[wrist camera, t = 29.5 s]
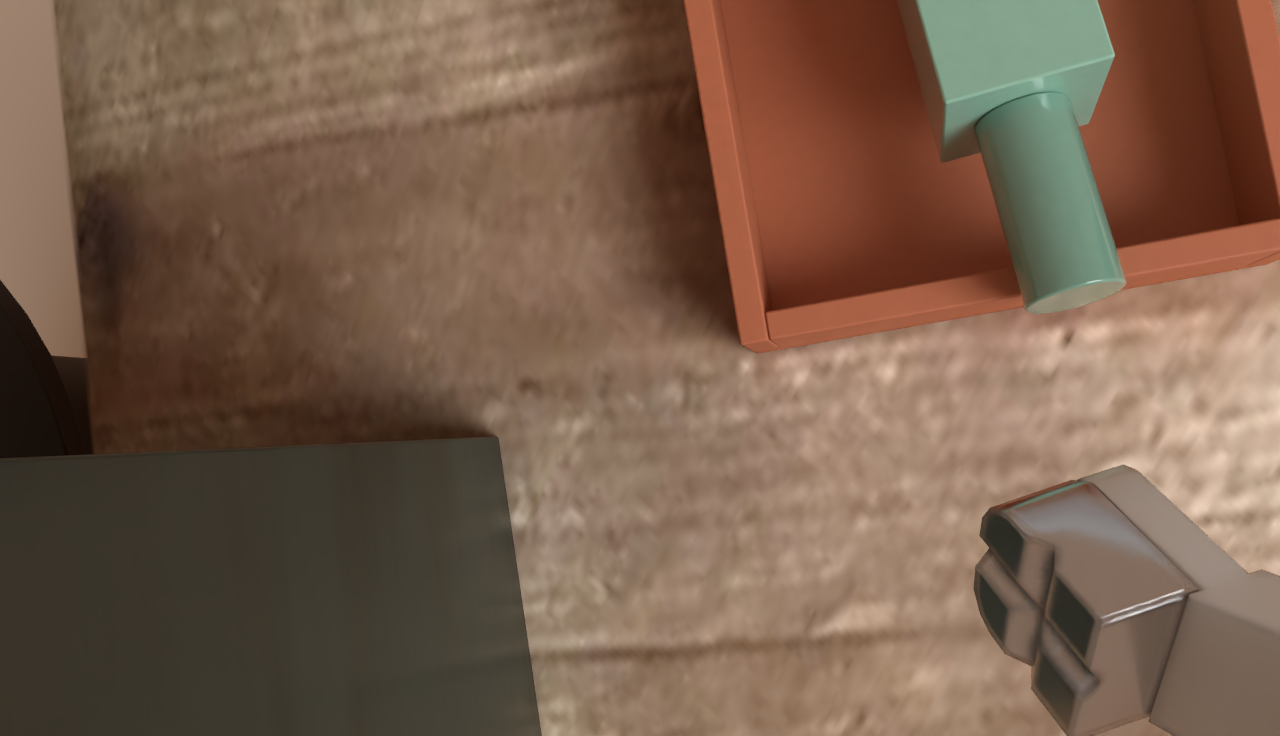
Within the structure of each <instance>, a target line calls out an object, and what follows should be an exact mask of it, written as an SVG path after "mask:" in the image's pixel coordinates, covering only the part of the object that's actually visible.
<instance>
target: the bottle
mask: <svg viewBox="0 0 1280 736" xmlns="http://www.w3.org/2000/svg"><path fill="white" fill-rule="evenodd" d="M896 1H897V4H898V8H899V12H900V15H901V19H902V23H903V26H904V30H905V34H906V37H907V41H908V45H909V48H910V52H911V56H912V59H913V63H914V67H915V70H916V74H917V78H918V81H919V85H920V89H921V92H922V96H923V100H924V103H925V107H926V111H927V114H928V118H929V122H930V125H931V129H932V133H933V136H934V140H935V144H936V147H937V151H938V155H939V158H940V161H941V162H948V161H952V160H955V159H959V158H963V157H966V156H970V155H974V154H978V153H980V154H981V157H982V161H983V164H984V168H985V171H986V175H987V178H988V182H989V186H990V189H991V193H992V196H993V200H994V203H995V207H996V210H997V214H998V217H999V221H1000V224H1001V228H1002V231H1003V235H1004V238H1005V242H1006V246H1007V249H1008V253H1009V256H1010V260H1011V263H1012V267H1013V270H1014V274H1015V277H1016V281H1017V284H1018V288H1019V291H1020V295H1021V298H1022V302H1023V306H1024V309H1025V310H1026V311H1027V312H1028V313H1034V314H1043V313H1052V312H1058V311H1063V310H1068V309H1072V308H1076V307H1080V306H1083V305H1087V304H1090V303H1093V302H1096V301H1098V300H1101V299H1104V298H1106V297H1108V296H1110V295H1113V294H1114V293H1116V292H1118V291H1119V290H1121V289H1122V288H1124V287H1125V286H1126V282H1127V280H1126V277H1125V274H1124V270H1123V267H1122V264H1121V261H1120V257H1119V254H1118V251H1117V248H1116V244H1115V241H1114V238H1113V235H1112V232H1111V228H1110V225H1109V222H1108V219H1107V215H1106V212H1105V209H1104V206H1103V202H1102V199H1101V196H1100V193H1099V189H1098V186H1097V183H1096V180H1095V177H1094V173H1093V170H1092V167H1091V164H1090V160H1089V157H1088V154H1087V151H1086V147H1085V144H1084V141H1083V138H1082V134H1081V131H1080V128H1079V126H1082V125H1086V124H1088V123H1090V120H1091V118H1092V115H1093V112H1094V110H1095V107H1096V104H1097V102H1098V99H1099V97H1100V94H1101V91H1102V89H1103V86H1104V83H1105V81H1106V78H1107V75H1108V73H1109V70H1110V68H1111V65H1112V62H1113V60H1114V57H1115V52H1114V49H1113V46H1112V43H1111V40H1110V37H1109V34H1108V31H1107V28H1106V25H1105V21H1104V18H1103V15H1102V12H1101V9H1100V6H1099V3H1098V0H896Z"/></svg>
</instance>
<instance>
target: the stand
mask: <svg viewBox="0 0 1280 736" xmlns="http://www.w3.org/2000/svg"><path fill="white" fill-rule="evenodd" d="M0 736H542V735H541V728H540V721H539V715H538V708H537V701H536V694H535V687H534V680H533V673H532V666H531V660H530V653H529V646H528V639H527V632H526V625H525V618H524V611H523V605H522V598H521V591H520V584H519V577H518V570H517V563H516V556H515V550H514V543H513V536H512V529H511V522H510V515H509V508H508V502H507V495H506V488H505V481H504V474H503V467H502V460H501V453H500V447H499V440H498V437H474V438H451V439H428V440H406V441H383V442H361V443H338V444H316V445H293V446H270V447H248V448H225V449H203V450H180V451H158V452H135V453H112V454H90V455H67V456H45V457H22V458H0Z"/></svg>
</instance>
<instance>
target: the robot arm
mask: <svg viewBox="0 0 1280 736" xmlns="http://www.w3.org/2000/svg"><path fill="white" fill-rule="evenodd" d="M980 537H981V538H982V539H983V540H984V542H985V543H986V544H987V545H988V547H989V549H988V551H987V552H986V553H985V555H984V556H983V557H982V559H981V560H980V561H979V562H978V564H977V565H976V566H975V579H974V592H975V596H976V600H977V604H978V607H979V611H980V615H981V617H982V619H983V621H984V622H985V624H986V626H987V628H988V630H989V632H990V634H991V635H992V637H993V638H994V640H995V641H996V642H997V644H998V645H999V646H1000V648H1001V649H1002V651H1003V652H1004V653H1005V654H1007V655H1009V656H1011V657H1013V658H1015V659H1017V660H1019V661H1021V662H1024V663H1026V664H1028V665H1030V666H1032V668H1031V689H1032V691H1033V692H1034V693H1035V695H1036V696H1037V697H1038V699H1039V700H1040V701H1041V702H1042V704H1043V705H1044V706H1045V708H1046V709H1047V710H1048V712H1049V713H1050V714H1051V716H1052V717H1053V718H1054V720H1055V721H1056V722H1057V724H1058V725H1059V726H1060V727H1061V729H1062V730H1063V731H1064V733H1065V734H1066V735H1067V736H1093V735H1096V734H1099V733H1102V732H1105V731H1108V730H1111V729H1114V728H1117V727H1120V726H1123V725H1126V724H1128V723H1131V722H1134V721H1137V720H1140V719H1143V718H1146V717H1149V716H1150V719H1149V722H1151V723H1153V724H1154V725H1156V726H1158V727H1159V728H1161V729H1163V730H1165V731H1166V732H1168V733H1170V734H1171V735H1173V736H1280V576H1278V575H1275V574H1273V573H1270V572H1267V571H1265V570H1259V571H1255V572H1252V573H1248V572H1247V571H1246V570H1244V569H1243V568H1242V567H1241V566H1240V565H1239V564H1238V563H1237V562H1236V561H1235V560H1234V559H1233V558H1232V557H1230V556H1229V555H1228V554H1227V553H1226V552H1225V551H1224V550H1223V549H1222V548H1221V547H1220V546H1219V545H1217V544H1216V543H1215V542H1214V541H1213V540H1212V539H1211V538H1210V537H1209V536H1208V535H1207V534H1206V533H1205V532H1203V531H1202V530H1201V529H1200V528H1199V527H1198V526H1197V525H1196V524H1195V523H1194V522H1193V521H1192V520H1190V519H1189V518H1188V517H1187V516H1186V515H1185V514H1184V513H1183V512H1182V511H1181V510H1180V509H1179V508H1178V507H1176V506H1175V505H1174V504H1173V503H1172V502H1171V501H1170V500H1169V499H1168V498H1167V497H1166V496H1165V495H1163V494H1162V493H1161V492H1160V491H1159V490H1158V489H1157V488H1156V487H1155V486H1154V485H1153V484H1152V483H1151V482H1149V481H1148V480H1147V479H1146V478H1145V477H1144V476H1143V475H1142V474H1141V473H1140V472H1138V471H1137V470H1136V469H1133V468H1131V467H1128V466H1126V465H1121V466H1117V467H1114V468H1111V469H1108V470H1105V471H1102V472H1099V473H1096V474H1093V475H1090V476H1087V477H1084V478H1080V479H1078V480H1076V481H1075V480H1070V481H1067V482H1065V483H1062V484H1059V485H1056V486H1053V487H1050V488H1047V489H1044V490H1041V491H1038V492H1035V493H1032V494H1029V495H1026V496H1023V497H1020V498H1017V499H1015V500H1012V501H1009V502H1006V503H1003V504H1000V505H997V506H994V507H991V508H989V510H988V511H987V512H986V514H985V515H984V516H983V517H982V523H981V530H980Z"/></svg>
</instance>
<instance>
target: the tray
mask: <svg viewBox="0 0 1280 736" xmlns="http://www.w3.org/2000/svg"><path fill="white" fill-rule="evenodd" d="M683 2H684V8H685V14H686V20H687V26H688V32H689V38H690V44H691V50H692V56H693V62H694V68H695V74H696V80H697V86H698V92H699V98H700V104H701V110H702V116H703V122H704V128H705V134H706V141H707V147H708V153H709V159H710V165H711V171H712V177H713V183H714V189H715V195H716V201H717V207H718V213H719V219H720V225H721V231H722V237H723V243H724V249H725V255H726V261H727V267H728V273H729V279H730V285H731V291H732V297H733V303H734V309H735V315H736V321H737V327H738V333H739V339H740V344H741V345H743V346H744V347H746V348H748V349H750V350H752V351H754V352H756V353H763V352H768V351H774V350H780V349H786V348H791V347H797V346H803V345H808V344H814V343H820V342H826V341H831V340H837V339H843V338H849V337H854V336H860V335H866V334H871V333H877V332H883V331H889V330H894V329H900V328H906V327H911V326H917V325H923V324H929V323H934V322H940V321H946V320H952V319H957V318H963V317H969V316H974V315H980V314H986V313H992V312H997V311H1003V310H1009V309H1014V308H1020V307H1024V306H1023V302H1022V298H1021V295H1020V291H1019V288H1018V284H1017V281H1016V277H1015V274H1014V270H1013V267H1012V263H1011V260H1010V256H1009V253H1008V249H1007V246H1006V242H1005V238H1004V235H1003V231H1002V228H1001V224H1000V221H999V217H998V214H997V210H996V207H995V203H994V200H993V196H992V193H991V189H990V186H989V182H988V178H987V175H986V171H985V168H984V164H983V161H982V157H981V154H980V153H978V154H974V155H970V156H966V157H963V158H959V159H955V160H952V161H948V162H941V161H940V158H939V155H938V151H937V147H936V144H935V140H934V136H933V133H932V129H931V125H930V122H929V118H928V114H927V111H926V107H925V103H924V100H923V96H922V92H921V89H920V85H919V81H918V78H917V74H916V70H915V67H914V63H913V59H912V56H911V52H910V48H909V45H908V41H907V37H906V34H905V30H904V26H903V23H902V19H901V15H900V12H899V8H898V4H897V1H896V0H683ZM1098 3H1099V6H1100V9H1101V12H1102V15H1103V18H1104V21H1105V25H1106V28H1107V31H1108V34H1109V37H1110V40H1111V43H1112V46H1113V49H1114V52H1115V57H1114V60H1113V62H1112V65H1111V68H1110V70H1109V73H1108V75H1107V78H1106V81H1105V83H1104V86H1103V89H1102V91H1101V94H1100V97H1099V99H1098V102H1097V104H1096V107H1095V110H1094V112H1093V115H1092V118H1091V120H1090V123H1088V124H1086V125H1082V126H1079V128H1080V131H1081V134H1082V138H1083V141H1084V144H1085V147H1086V151H1087V154H1088V157H1089V160H1090V164H1091V167H1092V170H1093V173H1094V177H1095V180H1096V183H1097V186H1098V189H1099V193H1100V196H1101V199H1102V202H1103V206H1104V209H1105V212H1106V215H1107V219H1108V222H1109V225H1110V228H1111V232H1112V235H1113V238H1114V241H1115V244H1116V248H1117V251H1118V254H1119V257H1120V261H1121V264H1122V267H1123V270H1124V274H1125V277H1126V280H1127V282H1126V286H1125V287H1124V288H1122V289H1121V290H1123V289H1129V288H1135V287H1140V286H1146V285H1152V284H1157V283H1163V282H1169V281H1175V280H1180V279H1186V278H1192V277H1198V276H1203V275H1209V274H1215V273H1220V272H1226V271H1232V270H1238V269H1243V268H1249V267H1255V266H1260V265H1266V264H1269V263H1271V262H1274V261H1276V260H1279V259H1280V40H1279V36H1278V31H1277V26H1276V22H1275V17H1274V12H1273V7H1272V3H1271V0H1098Z"/></svg>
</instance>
